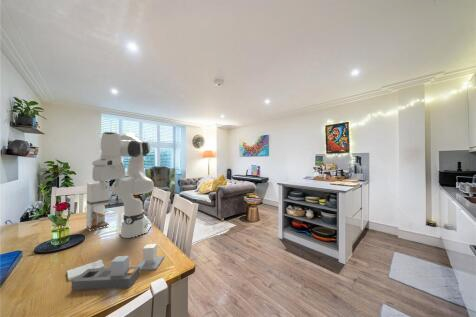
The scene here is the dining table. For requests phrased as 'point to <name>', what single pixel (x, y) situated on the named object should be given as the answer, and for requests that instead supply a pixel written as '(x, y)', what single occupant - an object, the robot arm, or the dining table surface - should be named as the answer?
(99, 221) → the small white stand
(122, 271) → the block
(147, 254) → the block
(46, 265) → the dining table surface
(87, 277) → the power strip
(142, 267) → the rubber mat
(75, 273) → the external hard drive
